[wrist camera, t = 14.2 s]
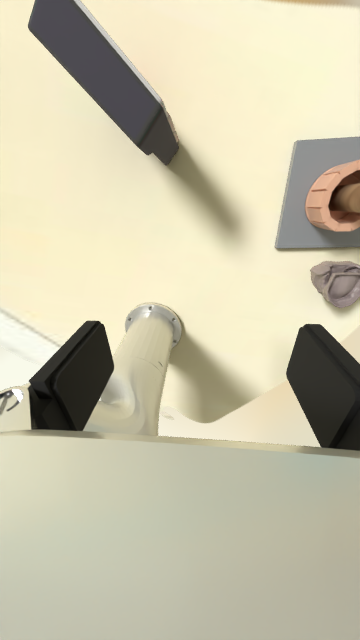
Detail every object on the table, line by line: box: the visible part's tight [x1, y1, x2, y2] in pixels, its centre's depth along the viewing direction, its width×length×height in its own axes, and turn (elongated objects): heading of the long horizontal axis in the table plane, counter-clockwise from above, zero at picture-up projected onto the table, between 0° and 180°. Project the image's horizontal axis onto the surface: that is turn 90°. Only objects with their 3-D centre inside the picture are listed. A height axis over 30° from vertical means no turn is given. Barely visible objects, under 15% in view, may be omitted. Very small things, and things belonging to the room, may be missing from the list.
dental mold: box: [310, 261, 360, 308], centre depth 35 cm, size 8×7×5 cm
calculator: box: [28, 0, 179, 166], centre depth 23 cm, size 11×4×15 cm, turn 47°
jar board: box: [275, 137, 360, 248], centre depth 29 cm, size 14×14×6 cm
